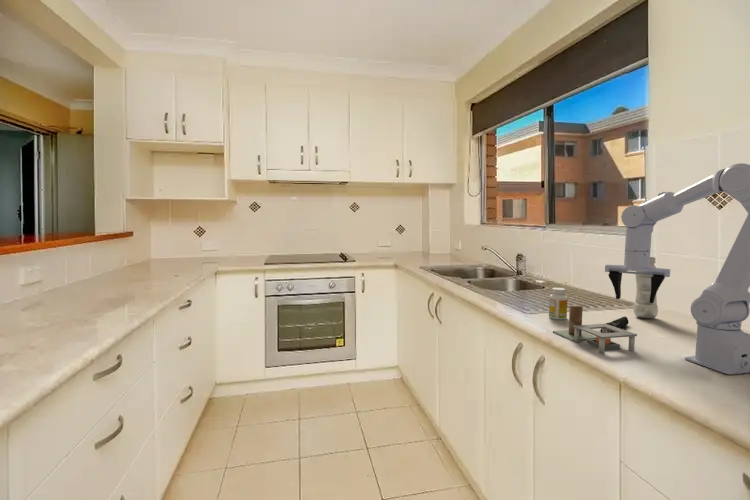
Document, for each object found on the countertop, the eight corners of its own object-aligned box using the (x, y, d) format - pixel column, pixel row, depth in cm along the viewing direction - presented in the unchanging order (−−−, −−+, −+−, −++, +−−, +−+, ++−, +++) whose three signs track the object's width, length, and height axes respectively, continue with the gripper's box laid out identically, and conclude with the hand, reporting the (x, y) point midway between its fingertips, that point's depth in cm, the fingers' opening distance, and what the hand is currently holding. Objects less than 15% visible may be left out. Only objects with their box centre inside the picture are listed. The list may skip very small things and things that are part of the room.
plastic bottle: (662, 320, 124) (665, 258, 122) (638, 319, 125) (642, 258, 123) (650, 315, 130) (654, 256, 128) (628, 315, 131) (632, 256, 129)
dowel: (579, 333, 109) (581, 305, 109) (582, 336, 106) (583, 307, 106) (567, 332, 110) (568, 304, 110) (569, 335, 107) (570, 306, 107)
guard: (636, 351, 96) (637, 334, 96) (601, 353, 94) (602, 337, 93) (604, 338, 106) (605, 323, 105) (572, 341, 104) (573, 325, 103)
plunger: (613, 347, 98) (613, 339, 98) (602, 347, 98) (602, 340, 98) (603, 343, 102) (603, 335, 101) (592, 343, 101) (593, 336, 101)
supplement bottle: (567, 317, 128) (568, 288, 128) (565, 320, 124) (567, 290, 123) (549, 314, 131) (550, 286, 130) (547, 318, 127) (548, 289, 126)
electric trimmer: (632, 327, 118) (632, 317, 118) (613, 336, 108) (614, 325, 108) (618, 324, 121) (618, 314, 121) (598, 333, 111) (599, 322, 111)
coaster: (598, 339, 105) (598, 337, 105) (572, 341, 104) (572, 339, 104) (577, 330, 113) (577, 329, 113) (552, 332, 111) (553, 330, 111)
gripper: (603, 250, 106) (600, 299, 107) (669, 253, 96) (665, 307, 98) (609, 248, 111) (606, 295, 112) (672, 251, 102) (669, 302, 103)
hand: (634, 300), depth 105 cm, fingers open, 7 cm apart
